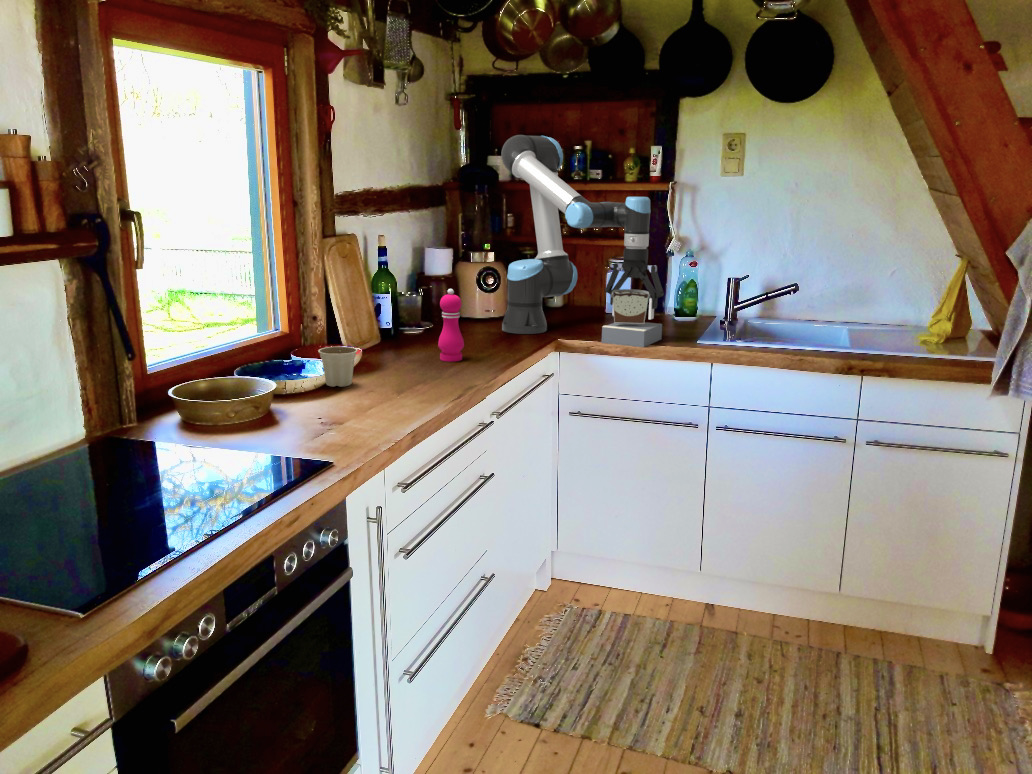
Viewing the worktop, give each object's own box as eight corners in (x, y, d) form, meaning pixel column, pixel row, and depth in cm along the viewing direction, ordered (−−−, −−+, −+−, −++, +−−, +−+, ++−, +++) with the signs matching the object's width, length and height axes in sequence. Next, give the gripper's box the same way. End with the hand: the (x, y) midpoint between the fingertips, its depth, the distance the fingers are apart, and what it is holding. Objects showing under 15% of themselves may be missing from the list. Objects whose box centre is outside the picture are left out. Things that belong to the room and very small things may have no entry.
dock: (601, 342, 261) (602, 326, 260) (621, 334, 275) (621, 319, 273) (643, 347, 254) (644, 330, 253) (661, 339, 268) (662, 323, 267)
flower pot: (365, 381, 208) (364, 347, 206) (346, 390, 199) (345, 355, 197) (332, 378, 211) (331, 345, 208) (312, 387, 202) (310, 352, 200)
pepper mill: (449, 355, 239) (448, 286, 234) (469, 358, 235) (469, 288, 230) (433, 359, 234) (432, 288, 229) (452, 363, 230) (452, 291, 225)
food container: (647, 320, 266) (649, 289, 264) (649, 324, 260) (650, 292, 258) (608, 319, 267) (610, 288, 264) (609, 322, 261) (611, 291, 259)
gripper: (595, 246, 260) (593, 315, 265) (668, 250, 249) (664, 322, 254) (605, 245, 266) (602, 312, 272) (677, 248, 255) (672, 319, 260)
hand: (632, 317), depth 263 cm, fingers open, 11 cm apart
